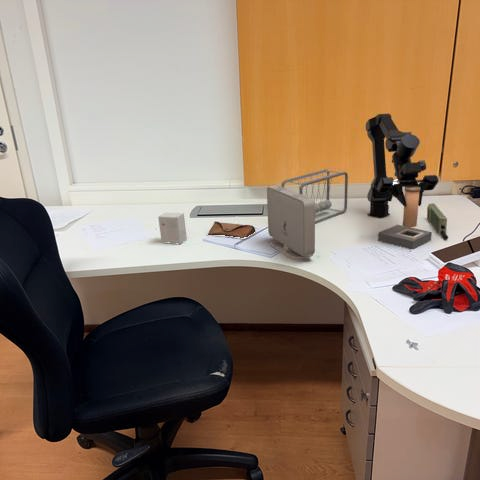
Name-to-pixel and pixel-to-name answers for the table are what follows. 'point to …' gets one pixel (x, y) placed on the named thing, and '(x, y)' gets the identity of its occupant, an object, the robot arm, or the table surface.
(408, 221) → the plug
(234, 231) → the sunglasses case
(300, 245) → the network device
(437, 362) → the table surface
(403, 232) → the block
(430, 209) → the handheld radio
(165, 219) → the small box
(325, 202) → the newton's cradle
